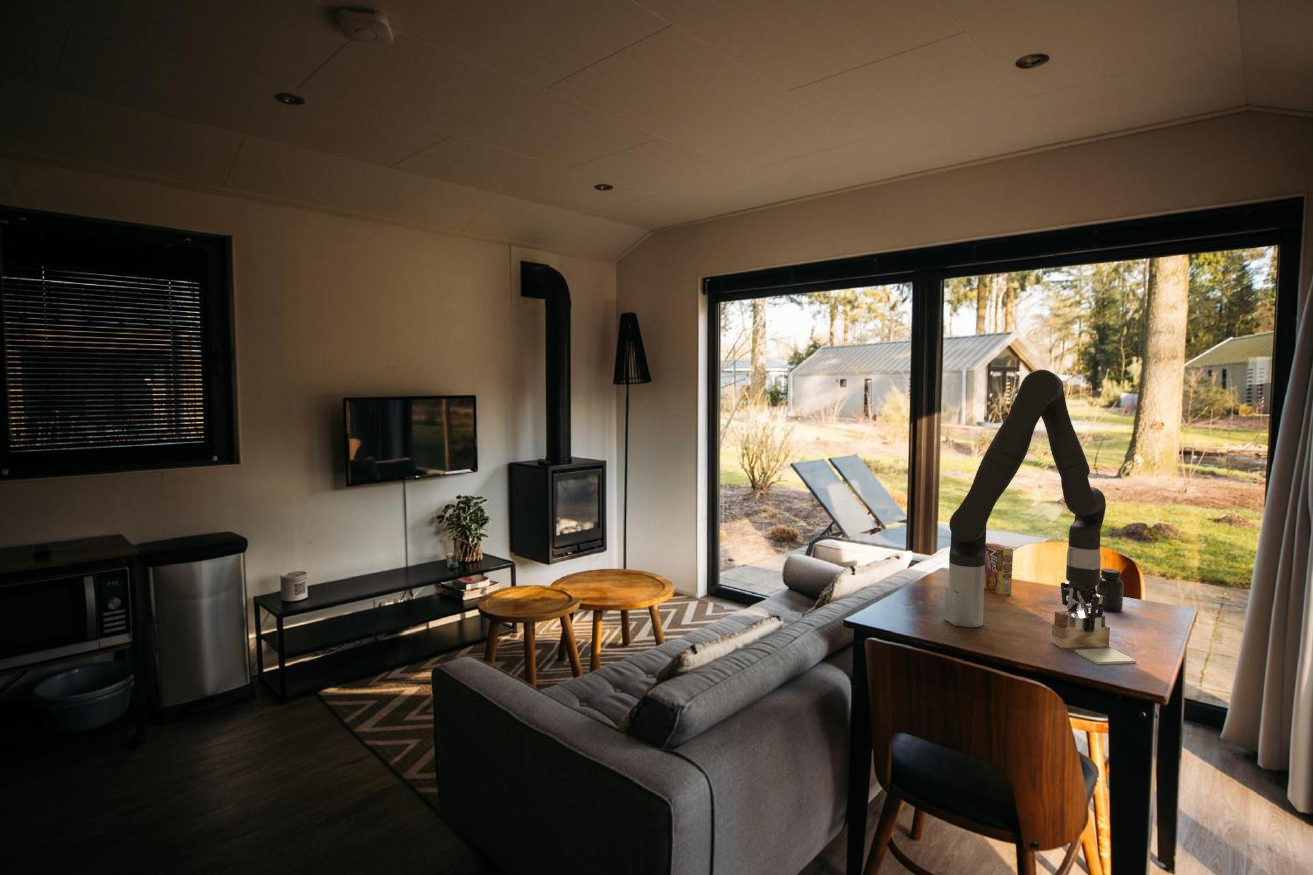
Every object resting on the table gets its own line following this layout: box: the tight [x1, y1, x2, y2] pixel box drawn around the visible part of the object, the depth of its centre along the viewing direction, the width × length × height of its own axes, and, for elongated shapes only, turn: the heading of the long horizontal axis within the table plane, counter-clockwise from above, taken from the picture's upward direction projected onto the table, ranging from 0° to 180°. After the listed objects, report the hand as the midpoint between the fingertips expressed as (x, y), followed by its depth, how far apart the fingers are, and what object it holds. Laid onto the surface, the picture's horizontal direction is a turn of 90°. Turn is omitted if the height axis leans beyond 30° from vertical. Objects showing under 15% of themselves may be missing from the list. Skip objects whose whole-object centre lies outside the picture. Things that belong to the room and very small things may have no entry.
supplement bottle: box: [1096, 568, 1124, 613], centre depth 210 cm, size 7×7×12 cm
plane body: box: [1051, 610, 1111, 649], centre depth 181 cm, size 13×4×8 cm, turn 95°
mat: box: [1074, 648, 1137, 665], centre depth 172 cm, size 10×8×1 cm
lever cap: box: [1061, 610, 1101, 630], centre depth 181 cm, size 7×6×3 cm
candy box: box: [984, 542, 1014, 596], centre depth 229 cm, size 9×4×15 cm, turn 13°
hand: (1080, 627), depth 181 cm, fingers closed on lever cap, 5 cm apart
